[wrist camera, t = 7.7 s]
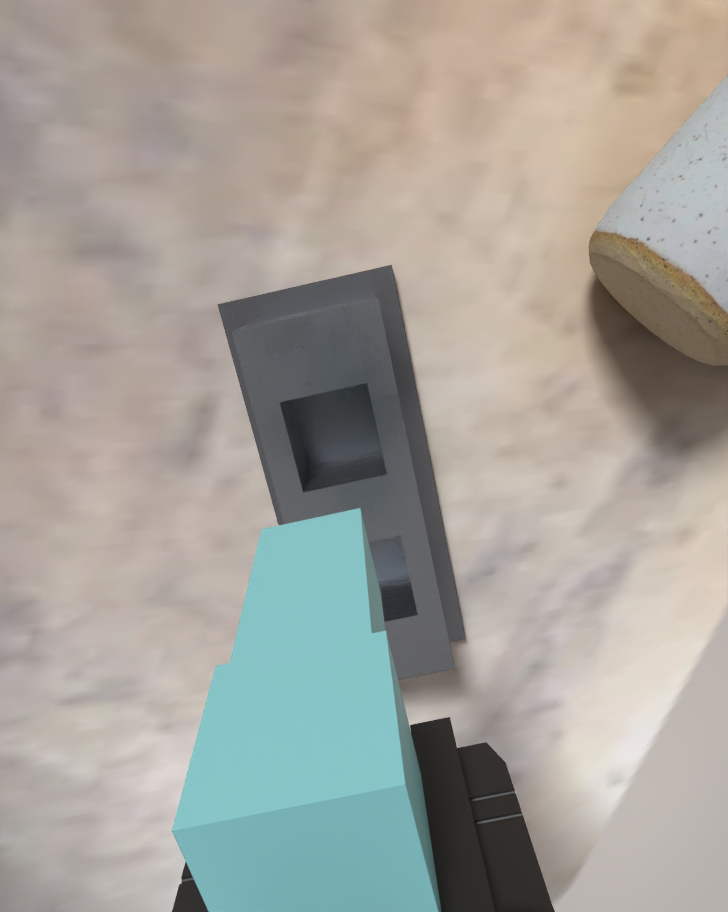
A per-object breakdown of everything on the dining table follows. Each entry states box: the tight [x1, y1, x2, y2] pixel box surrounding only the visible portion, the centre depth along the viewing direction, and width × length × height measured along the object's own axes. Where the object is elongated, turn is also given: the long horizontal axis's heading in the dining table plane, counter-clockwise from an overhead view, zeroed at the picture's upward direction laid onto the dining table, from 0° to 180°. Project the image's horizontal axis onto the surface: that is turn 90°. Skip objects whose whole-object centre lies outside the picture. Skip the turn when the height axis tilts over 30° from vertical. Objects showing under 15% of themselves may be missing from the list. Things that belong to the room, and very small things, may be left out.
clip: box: [172, 508, 442, 912], centre depth 11 cm, size 8×2×6 cm, turn 12°
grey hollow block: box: [218, 265, 465, 680], centre depth 26 cm, size 17×7×4 cm, turn 12°
